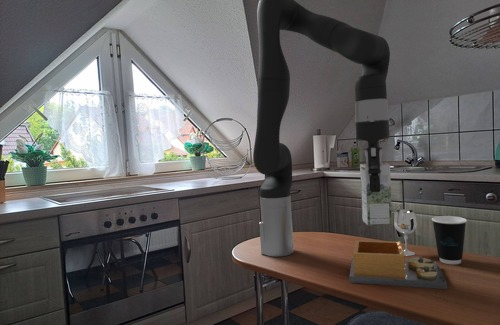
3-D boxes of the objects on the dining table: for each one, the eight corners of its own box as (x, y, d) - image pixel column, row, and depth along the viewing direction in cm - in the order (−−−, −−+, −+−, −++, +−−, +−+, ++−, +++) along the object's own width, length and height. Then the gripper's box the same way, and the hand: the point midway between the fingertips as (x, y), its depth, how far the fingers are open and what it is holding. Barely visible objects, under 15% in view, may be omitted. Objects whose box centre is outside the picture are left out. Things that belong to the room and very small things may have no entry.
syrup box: (385, 220, 88) (383, 161, 87) (392, 225, 82) (390, 163, 81) (362, 221, 89) (359, 163, 88) (367, 226, 83) (364, 164, 82)
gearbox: (349, 282, 82) (348, 254, 82) (352, 263, 94) (351, 239, 94) (447, 289, 75) (446, 259, 75) (436, 267, 88) (435, 241, 87)
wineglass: (416, 257, 96) (414, 213, 95) (393, 255, 99) (391, 212, 98) (418, 251, 100) (417, 209, 100) (397, 249, 103) (395, 208, 103)
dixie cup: (444, 267, 87) (442, 223, 87) (426, 257, 95) (425, 216, 95) (475, 265, 88) (474, 221, 87) (455, 255, 96) (454, 214, 95)
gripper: (356, 122, 92) (359, 186, 93) (354, 120, 78) (357, 194, 79) (387, 119, 90) (390, 185, 90) (390, 117, 76) (393, 194, 77)
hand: (375, 189), depth 85 cm, fingers closed on syrup box, 6 cm apart
